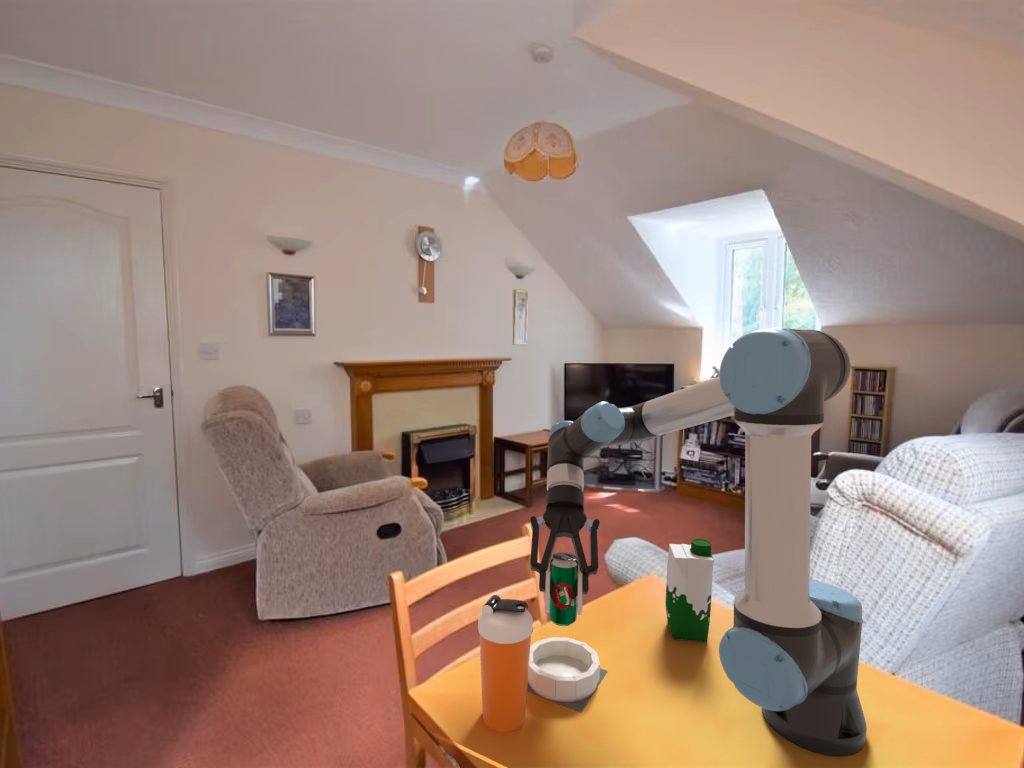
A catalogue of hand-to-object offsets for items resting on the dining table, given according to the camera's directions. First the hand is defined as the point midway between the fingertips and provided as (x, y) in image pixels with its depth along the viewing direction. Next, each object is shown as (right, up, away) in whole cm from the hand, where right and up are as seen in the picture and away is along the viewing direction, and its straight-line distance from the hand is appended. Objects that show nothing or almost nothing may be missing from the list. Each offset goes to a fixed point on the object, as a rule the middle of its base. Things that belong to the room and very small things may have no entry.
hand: (563, 611), depth 94 cm
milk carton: (+29, -14, +22) cm, 39 cm away
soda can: (0, -4, +4) cm, 5 cm away
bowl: (0, -14, +5) cm, 15 cm away
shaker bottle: (-10, -16, -5) cm, 20 cm away
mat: (0, -15, +5) cm, 16 cm away
